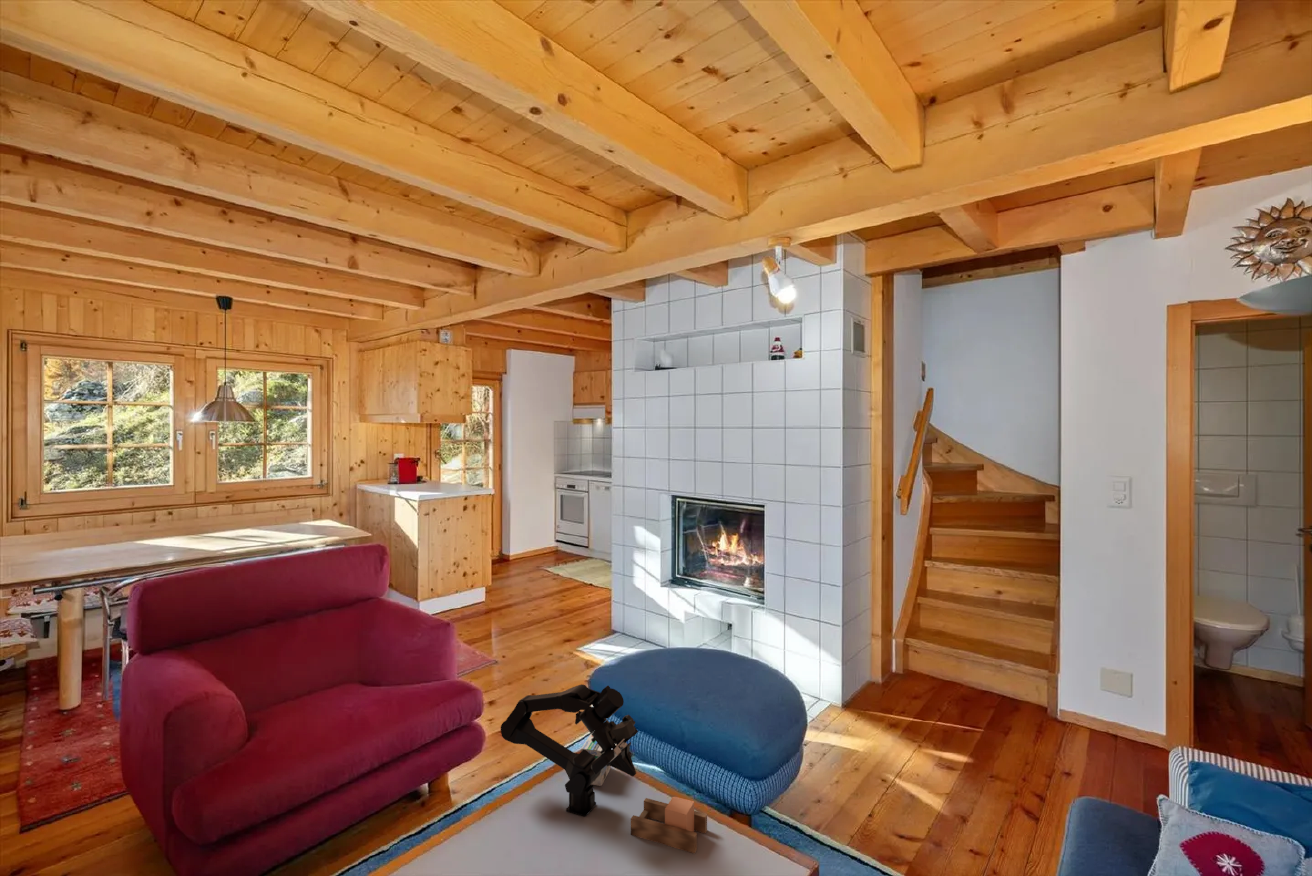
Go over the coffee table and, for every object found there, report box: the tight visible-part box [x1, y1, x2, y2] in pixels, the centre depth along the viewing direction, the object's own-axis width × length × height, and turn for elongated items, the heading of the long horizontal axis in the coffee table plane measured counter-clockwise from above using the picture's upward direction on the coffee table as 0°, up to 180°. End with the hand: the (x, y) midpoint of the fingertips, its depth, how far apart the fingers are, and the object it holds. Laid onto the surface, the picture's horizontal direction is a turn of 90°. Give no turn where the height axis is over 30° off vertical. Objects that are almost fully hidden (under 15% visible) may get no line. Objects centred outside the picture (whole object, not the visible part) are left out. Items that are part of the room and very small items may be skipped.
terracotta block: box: [664, 796, 695, 832], centre depth 159 cm, size 6×6×8 cm
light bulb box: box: [580, 733, 612, 787], centre depth 187 cm, size 11×7×11 cm, turn 168°
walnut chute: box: [630, 797, 708, 855], centre depth 160 cm, size 18×10×4 cm, turn 67°
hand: (634, 775), depth 164 cm, fingers closed
